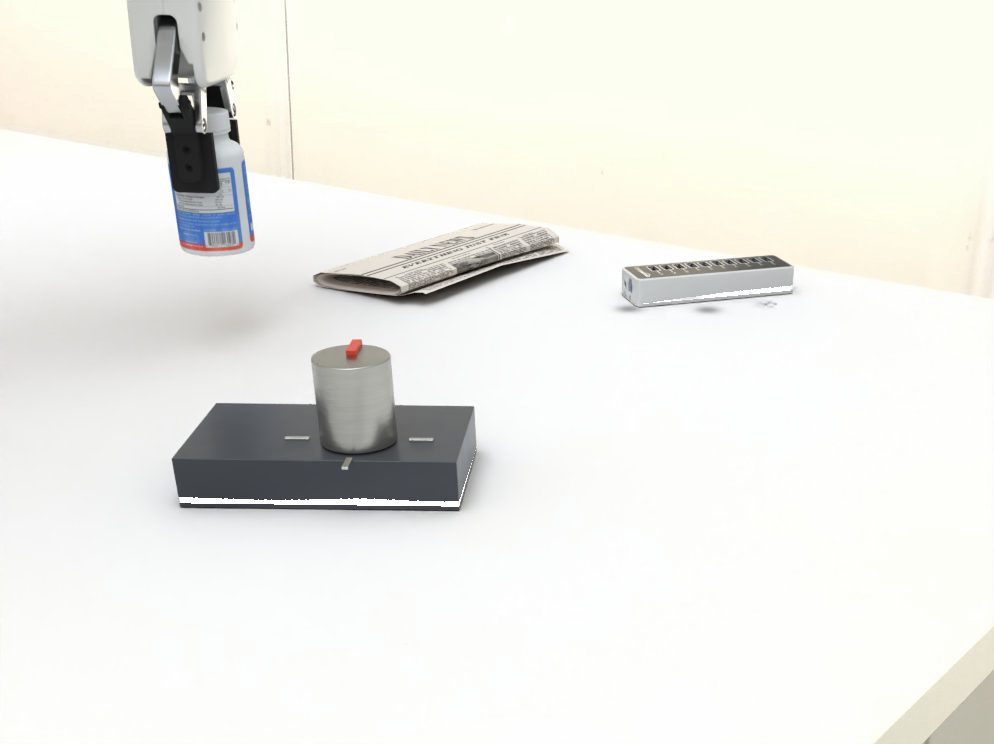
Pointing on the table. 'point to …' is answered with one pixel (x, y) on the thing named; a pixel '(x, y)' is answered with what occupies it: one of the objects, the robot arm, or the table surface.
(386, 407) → the hob knob
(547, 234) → the newspaper
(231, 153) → the pill bottle
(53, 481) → the table surface
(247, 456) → the panel
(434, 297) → the table surface
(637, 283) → the multiport hub
